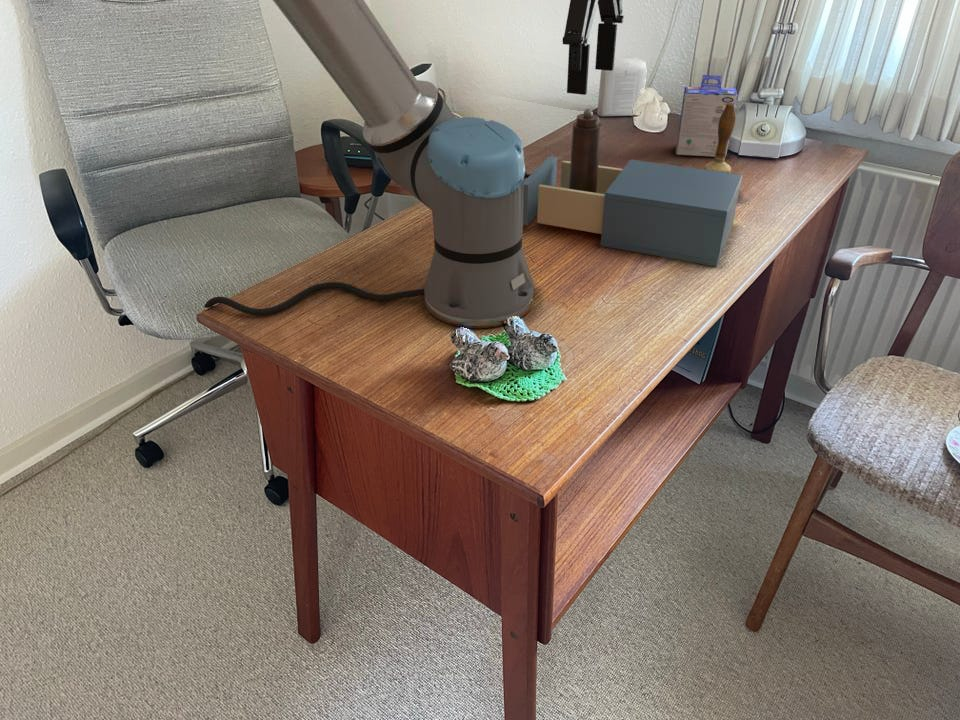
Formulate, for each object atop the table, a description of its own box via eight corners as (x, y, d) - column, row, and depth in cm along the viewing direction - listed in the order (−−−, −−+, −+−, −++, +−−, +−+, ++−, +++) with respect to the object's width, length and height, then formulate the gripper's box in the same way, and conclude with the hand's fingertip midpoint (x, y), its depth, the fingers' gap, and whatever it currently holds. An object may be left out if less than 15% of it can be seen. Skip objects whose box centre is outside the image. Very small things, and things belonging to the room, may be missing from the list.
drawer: (495, 219, 119) (495, 179, 115) (525, 189, 129) (526, 152, 125) (619, 241, 112) (624, 200, 108) (641, 208, 122) (646, 168, 118)
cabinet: (600, 245, 113) (604, 192, 108) (625, 209, 124) (630, 159, 119) (716, 266, 107) (727, 211, 102) (732, 226, 118) (742, 174, 113)
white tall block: (639, 110, 168) (645, 54, 161) (643, 116, 165) (650, 59, 158) (595, 112, 168) (599, 56, 161) (598, 118, 165) (603, 60, 157)
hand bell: (711, 183, 133) (727, 93, 124) (747, 198, 127) (766, 105, 118) (678, 193, 129) (692, 102, 120) (713, 209, 124) (731, 114, 114)
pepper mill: (573, 216, 117) (580, 114, 108) (564, 205, 121) (569, 106, 111) (599, 213, 118) (607, 112, 109) (588, 202, 122) (596, 103, 112)
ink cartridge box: (725, 148, 147) (739, 74, 139) (727, 158, 143) (741, 82, 134) (675, 146, 149) (685, 72, 140) (675, 155, 145) (686, 80, 136)
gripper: (602, -77, 85) (590, 107, 97) (653, -94, 103) (637, 62, 115) (542, -78, 87) (537, 101, 100) (602, -95, 106) (591, 58, 118)
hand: (591, 81), depth 108 cm, fingers open, 13 cm apart
